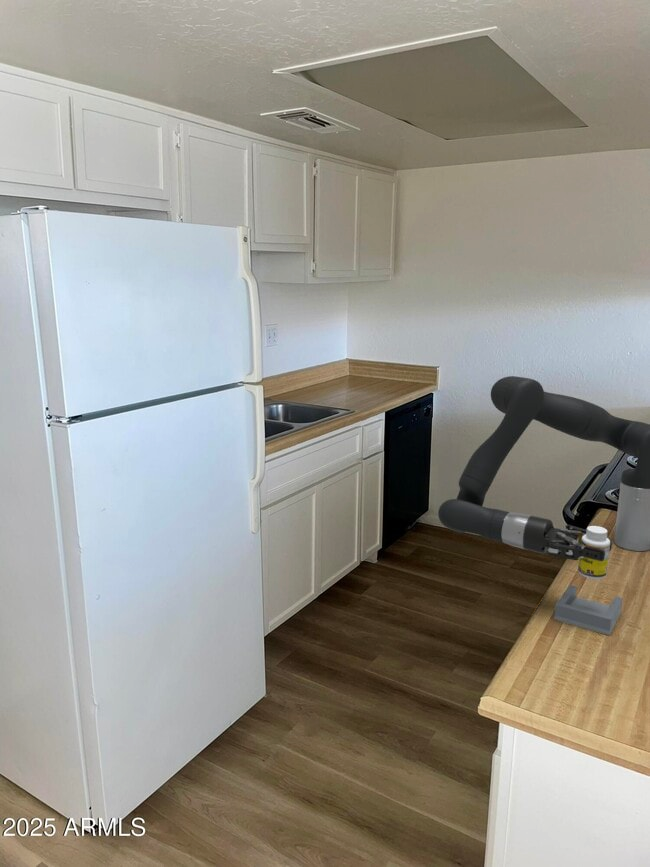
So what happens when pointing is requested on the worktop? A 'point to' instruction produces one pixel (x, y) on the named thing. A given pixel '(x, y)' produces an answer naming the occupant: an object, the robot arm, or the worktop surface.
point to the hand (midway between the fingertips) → (607, 550)
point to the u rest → (587, 612)
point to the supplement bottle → (599, 540)
